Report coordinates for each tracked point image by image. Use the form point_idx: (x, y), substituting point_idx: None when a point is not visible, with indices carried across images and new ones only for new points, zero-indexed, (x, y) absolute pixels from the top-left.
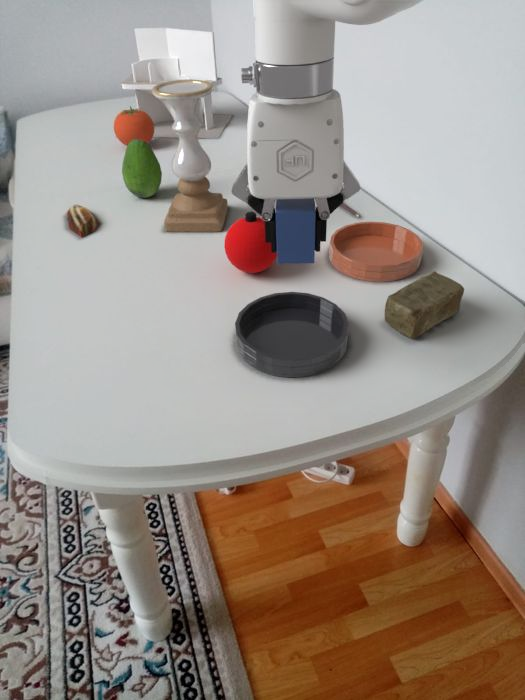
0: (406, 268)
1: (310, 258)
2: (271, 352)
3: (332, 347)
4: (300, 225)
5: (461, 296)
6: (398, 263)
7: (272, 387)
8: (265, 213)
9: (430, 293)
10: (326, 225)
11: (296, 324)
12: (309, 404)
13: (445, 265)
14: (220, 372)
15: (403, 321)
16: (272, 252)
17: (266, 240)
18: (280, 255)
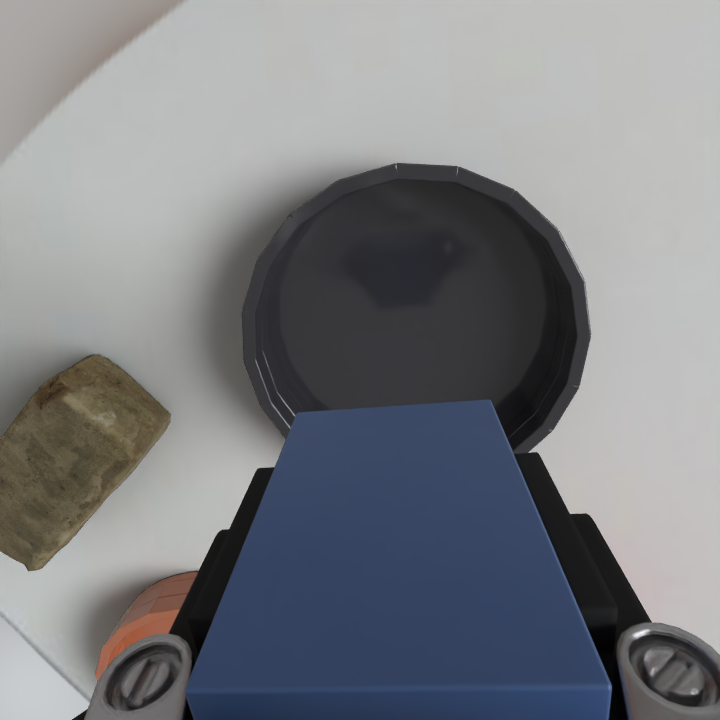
0: (135, 607)
1: (312, 424)
2: (463, 258)
3: (278, 242)
4: (349, 570)
5: None
6: (146, 617)
7: (449, 116)
8: (696, 702)
9: (23, 476)
10: (181, 608)
11: (400, 387)
12: (337, 54)
13: (65, 630)
14: (611, 165)
15: (104, 386)
16: (529, 453)
17: (584, 519)
18: (480, 424)
